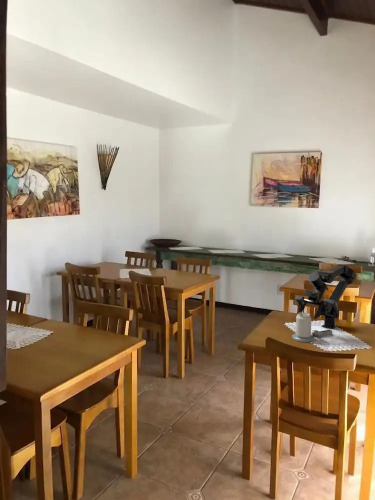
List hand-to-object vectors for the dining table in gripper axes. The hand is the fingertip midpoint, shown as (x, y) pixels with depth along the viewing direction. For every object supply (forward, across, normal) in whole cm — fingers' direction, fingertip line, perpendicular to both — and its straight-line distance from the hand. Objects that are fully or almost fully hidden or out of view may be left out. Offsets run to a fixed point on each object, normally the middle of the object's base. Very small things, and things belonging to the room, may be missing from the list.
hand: (306, 316), depth 211 cm
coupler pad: (+10, 0, +6) cm, 11 cm away
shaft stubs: (+3, -1, +13) cm, 13 cm away
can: (+9, 0, +5) cm, 10 cm away
